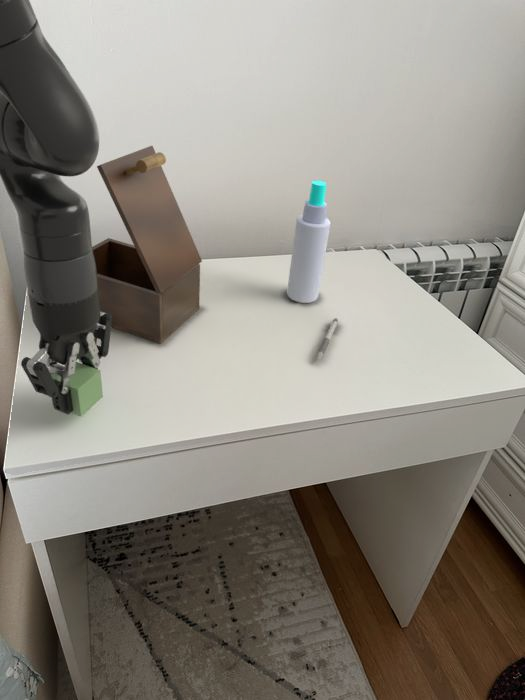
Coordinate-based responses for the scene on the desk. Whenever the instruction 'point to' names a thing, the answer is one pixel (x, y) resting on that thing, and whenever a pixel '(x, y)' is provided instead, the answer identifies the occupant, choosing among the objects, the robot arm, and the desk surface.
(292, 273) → the spray bottle
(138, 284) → the chest
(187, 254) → the lid
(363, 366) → the desk surface
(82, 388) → the block
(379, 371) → the desk surface
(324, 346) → the pen
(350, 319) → the desk surface
